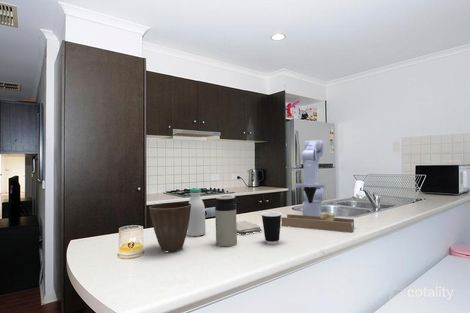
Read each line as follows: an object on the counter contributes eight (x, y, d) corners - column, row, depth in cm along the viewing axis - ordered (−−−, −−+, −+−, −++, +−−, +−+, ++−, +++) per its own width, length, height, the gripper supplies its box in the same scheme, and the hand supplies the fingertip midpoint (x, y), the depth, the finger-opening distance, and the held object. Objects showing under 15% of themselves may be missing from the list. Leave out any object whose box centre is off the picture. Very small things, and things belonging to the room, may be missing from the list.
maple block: (320, 223, 125) (320, 214, 125) (323, 220, 129) (322, 212, 129) (332, 224, 122) (331, 214, 122) (334, 221, 126) (334, 212, 126)
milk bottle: (207, 235, 118) (206, 188, 118) (189, 238, 115) (188, 189, 115) (202, 231, 125) (201, 187, 125) (186, 233, 122) (184, 188, 123)
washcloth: (240, 237, 116) (240, 229, 116) (222, 228, 132) (222, 222, 132) (264, 233, 122) (263, 225, 122) (243, 225, 138) (243, 219, 138)
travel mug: (239, 241, 108) (238, 195, 109) (233, 247, 101) (232, 198, 101) (220, 240, 110) (218, 195, 111) (213, 246, 103) (211, 197, 103)
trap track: (281, 225, 132) (281, 217, 132) (287, 222, 140) (287, 214, 140) (351, 232, 116) (351, 223, 116) (354, 227, 124) (353, 219, 124)
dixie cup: (285, 244, 102) (284, 214, 103) (264, 246, 101) (263, 216, 101) (279, 238, 110) (278, 211, 110) (259, 240, 109) (258, 212, 109)
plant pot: (147, 257, 92) (146, 209, 92) (152, 244, 107) (151, 203, 107) (193, 253, 95) (192, 207, 95) (191, 241, 110) (190, 201, 110)
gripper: (292, 174, 134) (293, 203, 133) (323, 174, 126) (324, 204, 126) (297, 174, 140) (297, 201, 139) (326, 174, 132) (327, 202, 132)
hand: (310, 202), depth 133 cm, fingers closed
